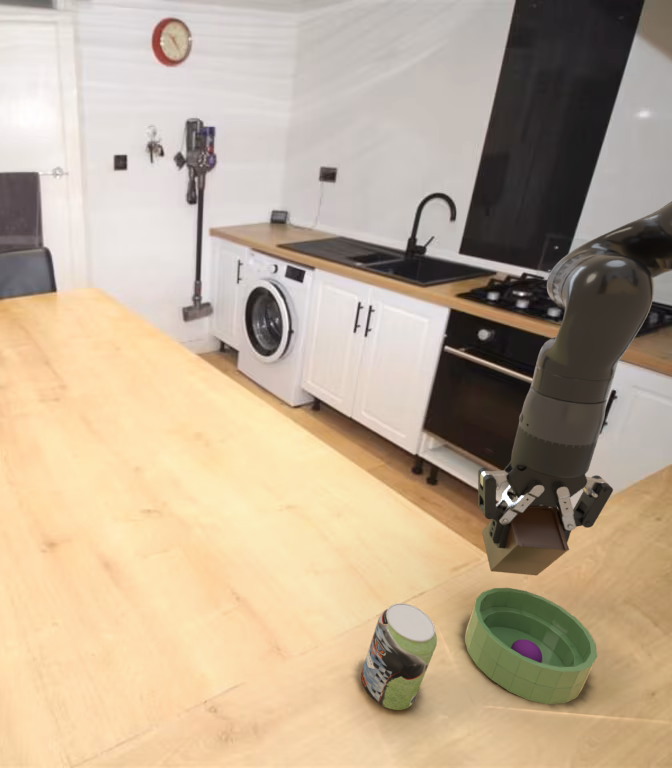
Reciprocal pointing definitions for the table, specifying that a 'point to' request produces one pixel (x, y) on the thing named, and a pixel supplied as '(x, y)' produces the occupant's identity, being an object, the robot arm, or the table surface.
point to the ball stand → (528, 542)
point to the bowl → (539, 625)
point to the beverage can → (398, 656)
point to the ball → (527, 649)
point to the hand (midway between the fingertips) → (525, 546)
